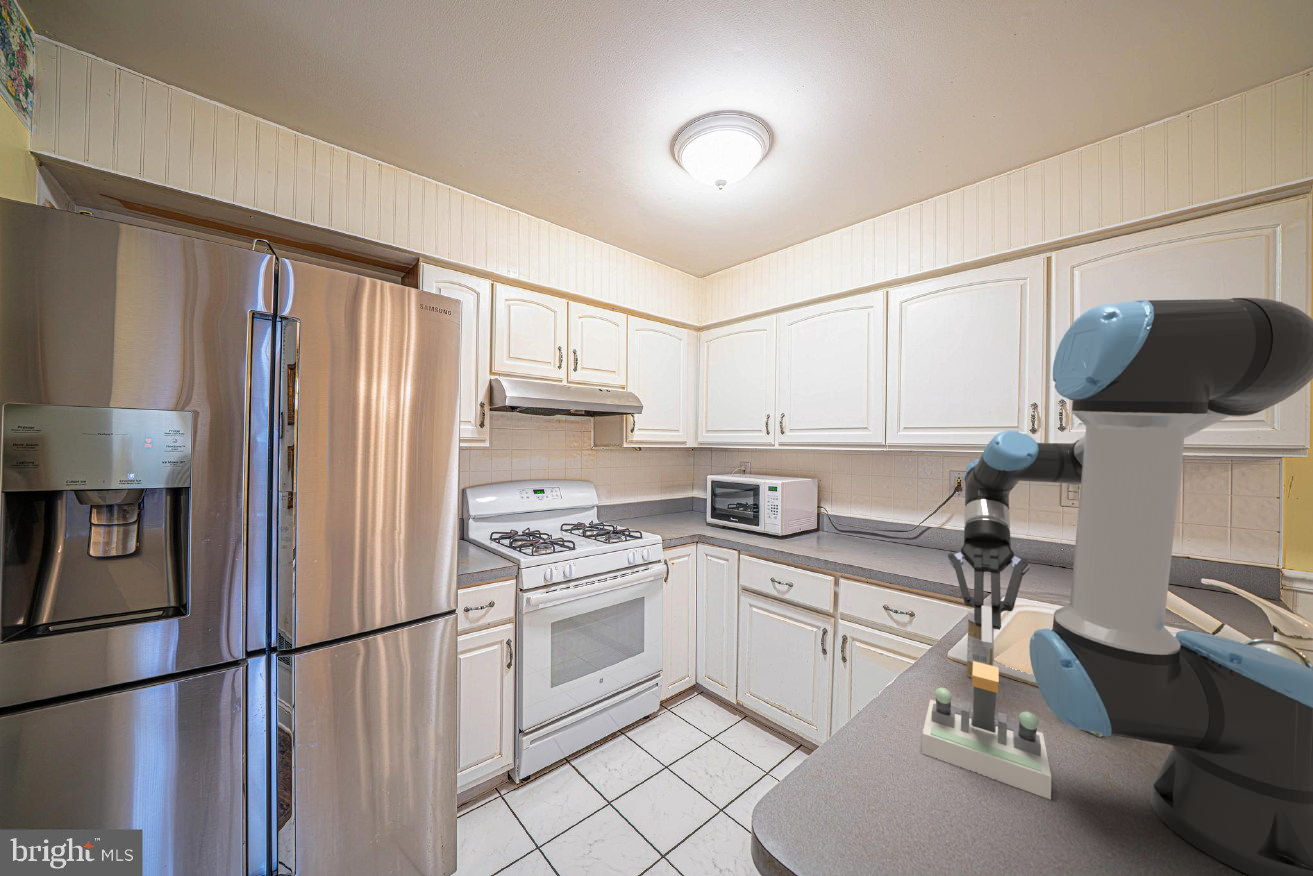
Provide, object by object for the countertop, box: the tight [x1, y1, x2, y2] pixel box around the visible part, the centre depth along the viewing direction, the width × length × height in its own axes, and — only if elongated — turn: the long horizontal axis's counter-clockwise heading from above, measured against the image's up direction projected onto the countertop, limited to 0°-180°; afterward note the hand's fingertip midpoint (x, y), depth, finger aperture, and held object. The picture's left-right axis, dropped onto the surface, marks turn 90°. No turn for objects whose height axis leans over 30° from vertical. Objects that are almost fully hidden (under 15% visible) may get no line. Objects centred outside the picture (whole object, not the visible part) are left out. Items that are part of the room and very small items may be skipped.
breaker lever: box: [971, 661, 1000, 733], centre depth 69 cm, size 3×2×13 cm
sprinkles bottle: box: [965, 608, 994, 679], centre depth 96 cm, size 5×5×13 cm
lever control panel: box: [921, 687, 1053, 801], centre depth 72 cm, size 15×12×9 cm
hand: (987, 645), depth 82 cm, fingers closed
